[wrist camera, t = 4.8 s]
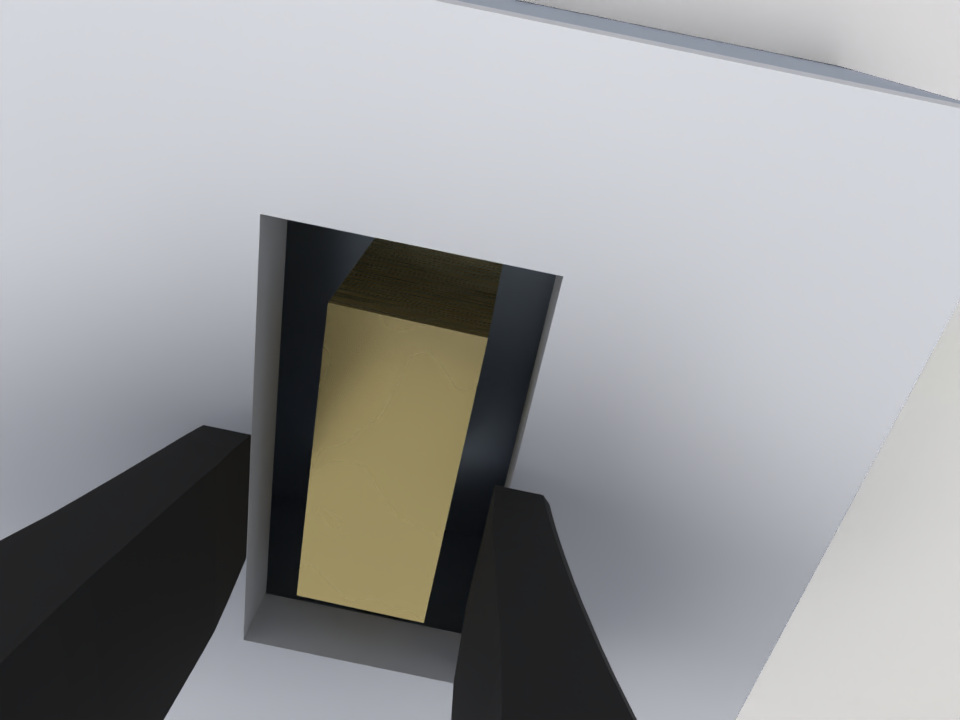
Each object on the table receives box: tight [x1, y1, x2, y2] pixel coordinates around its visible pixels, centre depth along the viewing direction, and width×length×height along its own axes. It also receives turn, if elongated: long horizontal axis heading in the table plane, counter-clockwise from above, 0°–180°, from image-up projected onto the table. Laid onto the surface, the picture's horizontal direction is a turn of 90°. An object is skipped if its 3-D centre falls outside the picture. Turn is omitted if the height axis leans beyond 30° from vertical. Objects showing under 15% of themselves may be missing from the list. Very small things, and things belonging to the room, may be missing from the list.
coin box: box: [0, 0, 960, 720], centre depth 13 cm, size 12×12×6 cm
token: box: [297, 238, 503, 623], centre depth 12 cm, size 5×2×5 cm, turn 169°
